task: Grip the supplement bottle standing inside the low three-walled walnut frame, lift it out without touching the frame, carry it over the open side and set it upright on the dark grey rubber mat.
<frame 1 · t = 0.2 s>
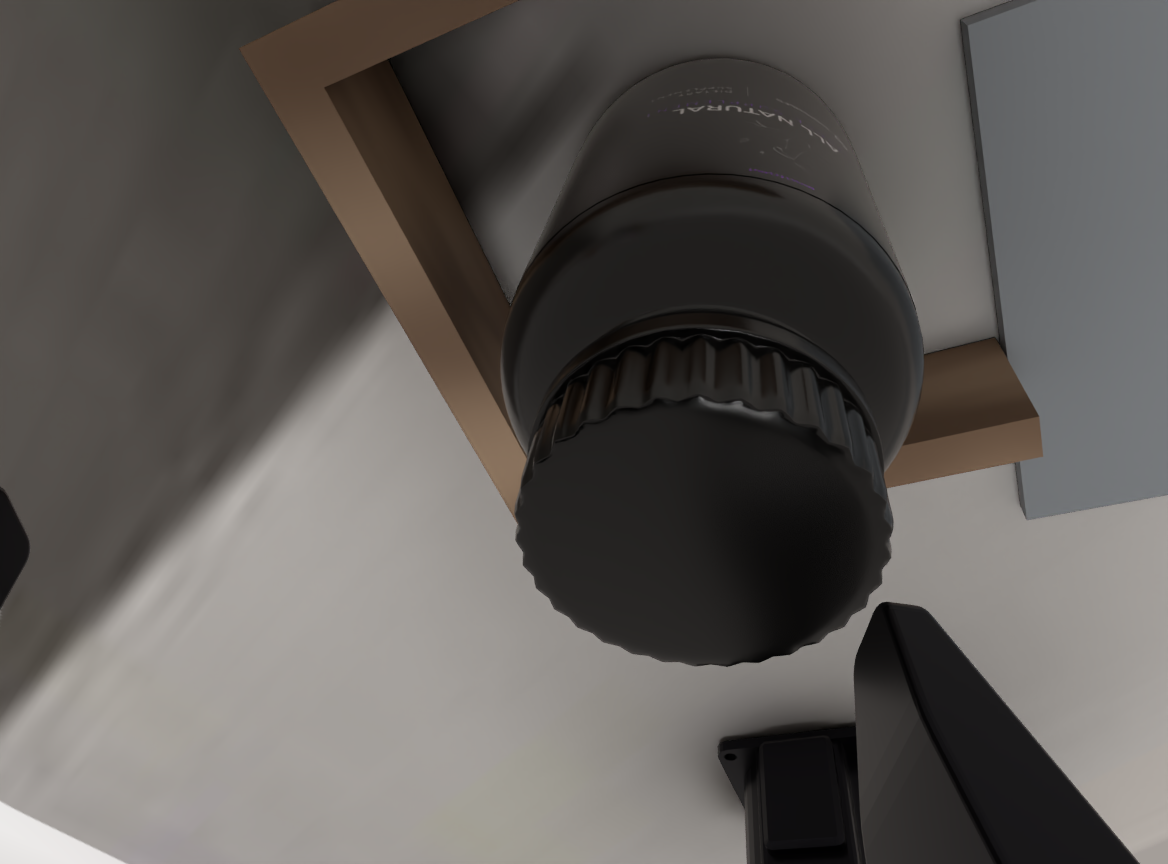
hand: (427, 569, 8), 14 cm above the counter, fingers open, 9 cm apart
walnut frame: (707, 201, 20), on the counter
supplement bottle: (707, 198, 20), on the counter
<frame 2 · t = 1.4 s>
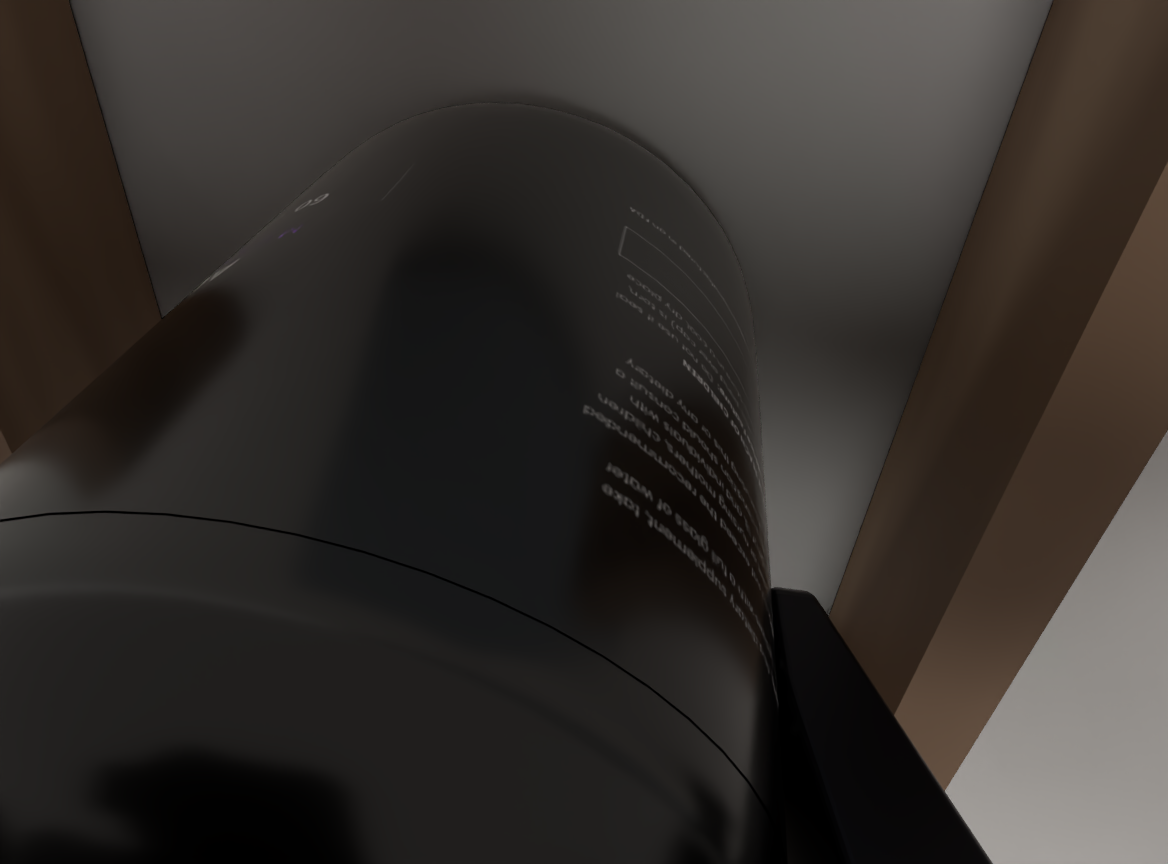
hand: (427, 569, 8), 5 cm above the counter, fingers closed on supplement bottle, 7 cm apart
walnut frame: (522, 327, 12), on the counter
supplement bottle: (524, 321, 12), on the counter, touching gripper
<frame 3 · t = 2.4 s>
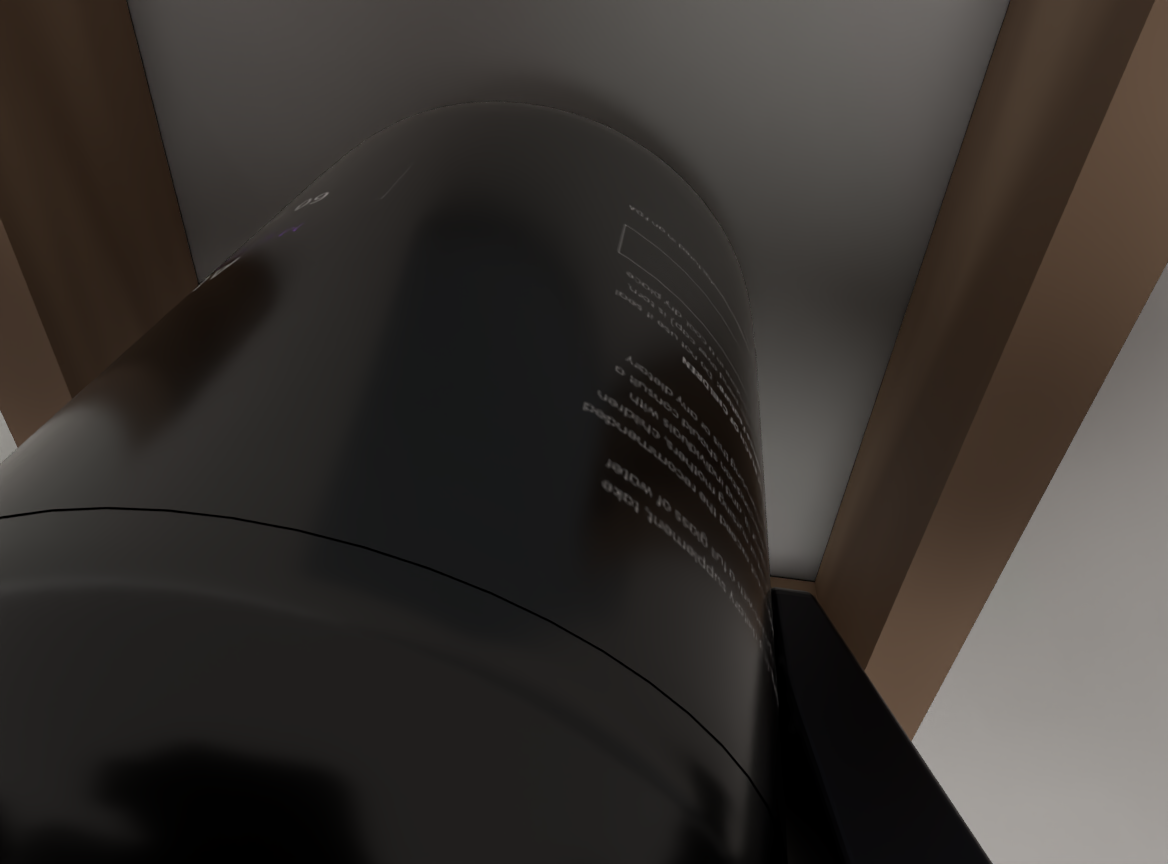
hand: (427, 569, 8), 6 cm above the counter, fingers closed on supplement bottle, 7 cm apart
walnut frame: (534, 289, 13), on the counter
supplement bottle: (524, 319, 12), point 1 cm above the counter, touching gripper
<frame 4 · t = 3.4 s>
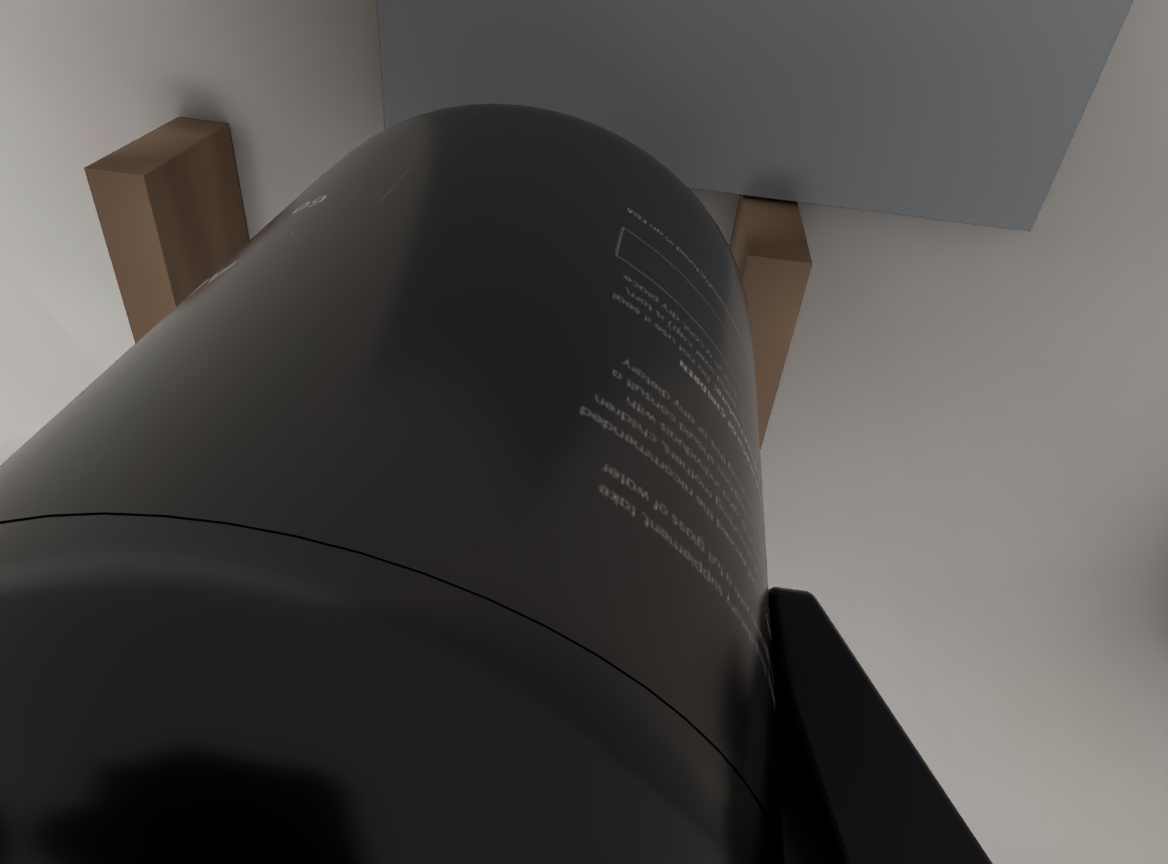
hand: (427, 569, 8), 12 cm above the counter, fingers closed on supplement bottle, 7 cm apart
walnut frame: (479, 374, 22), on the counter
supplement bottle: (523, 321, 12), point 7 cm above the counter, touching gripper
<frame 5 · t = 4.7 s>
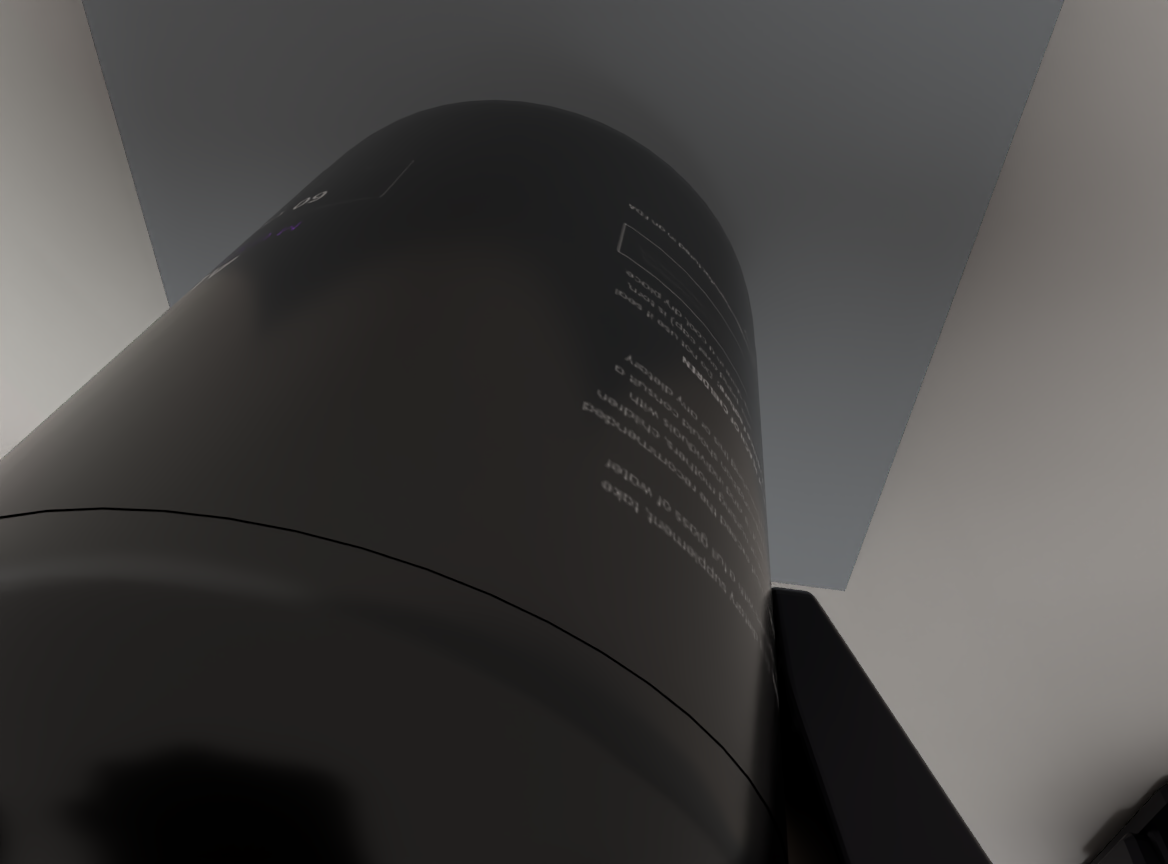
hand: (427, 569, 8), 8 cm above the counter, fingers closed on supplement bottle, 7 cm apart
grey mat: (540, 248, 14), on the counter
supplement bottle: (524, 319, 12), point 2 cm above the counter, touching gripper
when the fingers open (7 cm above the counter, at t = 5.4 s): supplement bottle stays where it is, resting on grey mat.
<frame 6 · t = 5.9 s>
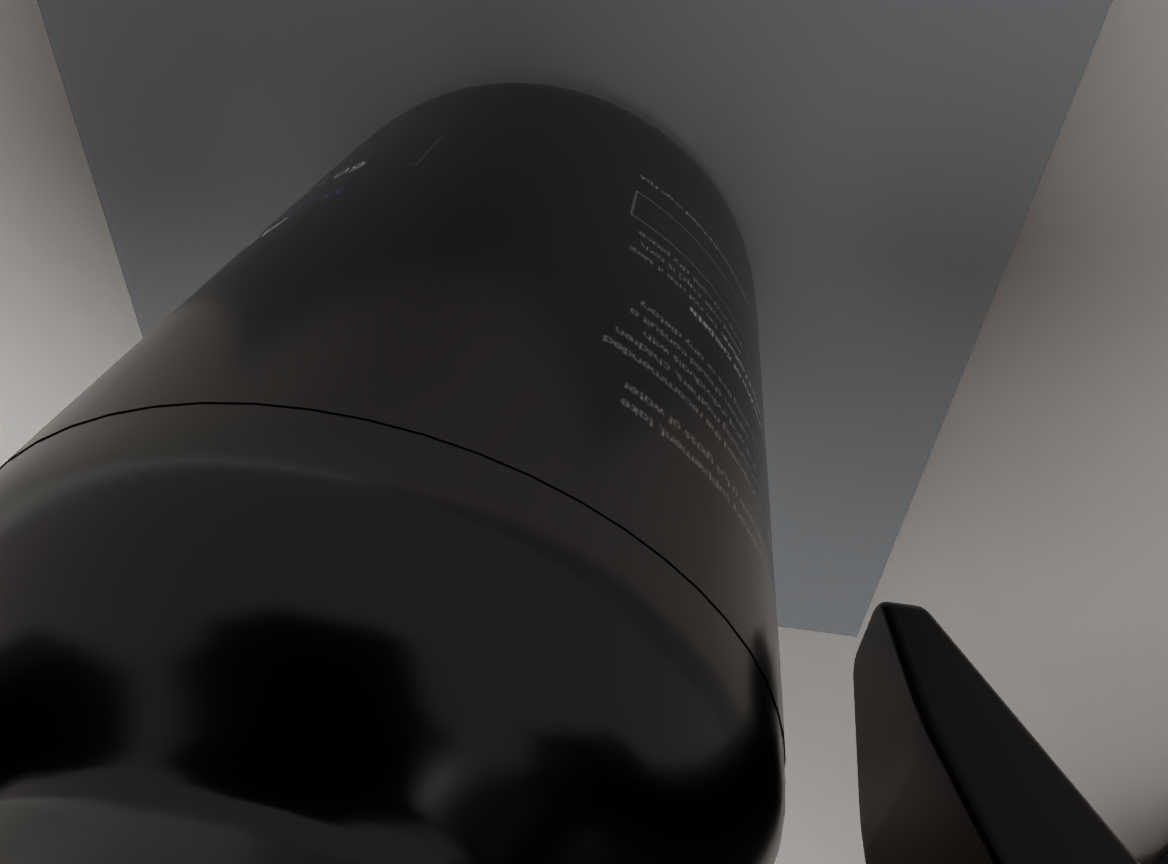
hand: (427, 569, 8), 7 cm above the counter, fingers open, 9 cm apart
grey mat: (535, 281, 13), on the counter
supplement bottle: (538, 293, 13), resting on grey mat
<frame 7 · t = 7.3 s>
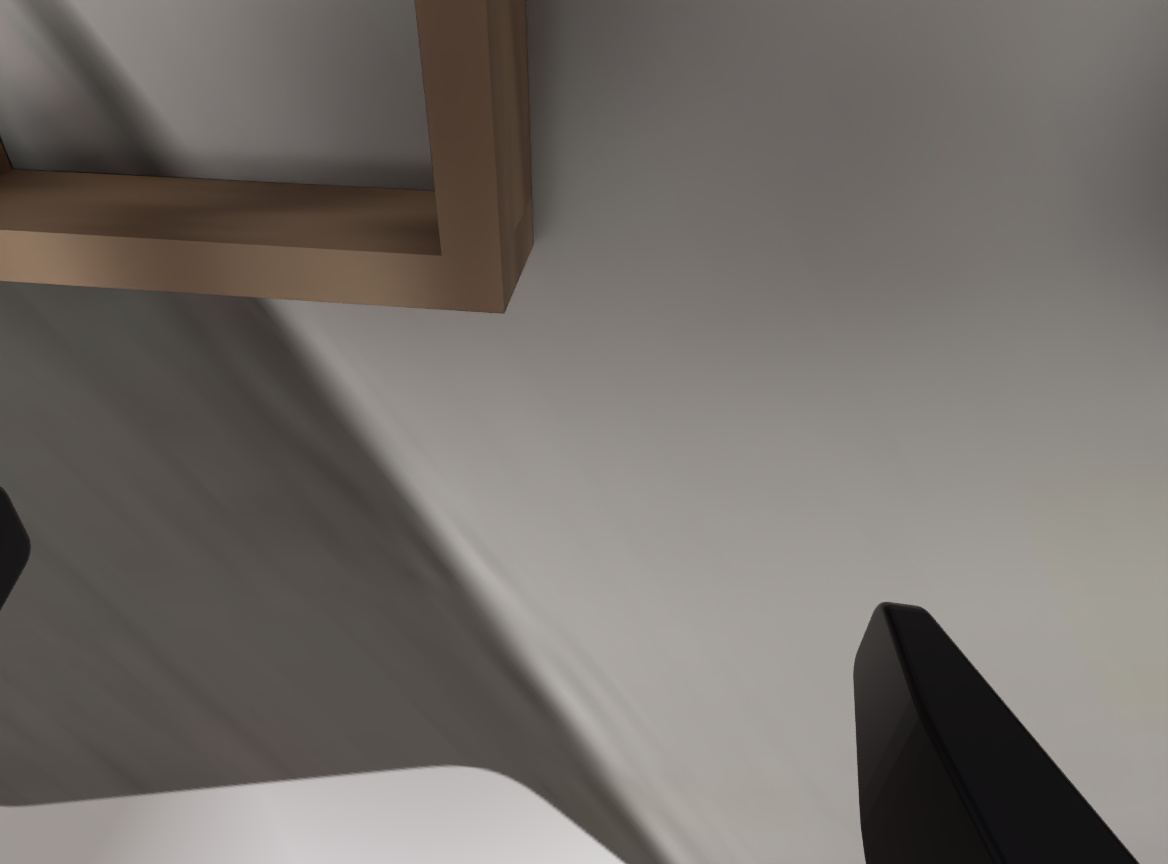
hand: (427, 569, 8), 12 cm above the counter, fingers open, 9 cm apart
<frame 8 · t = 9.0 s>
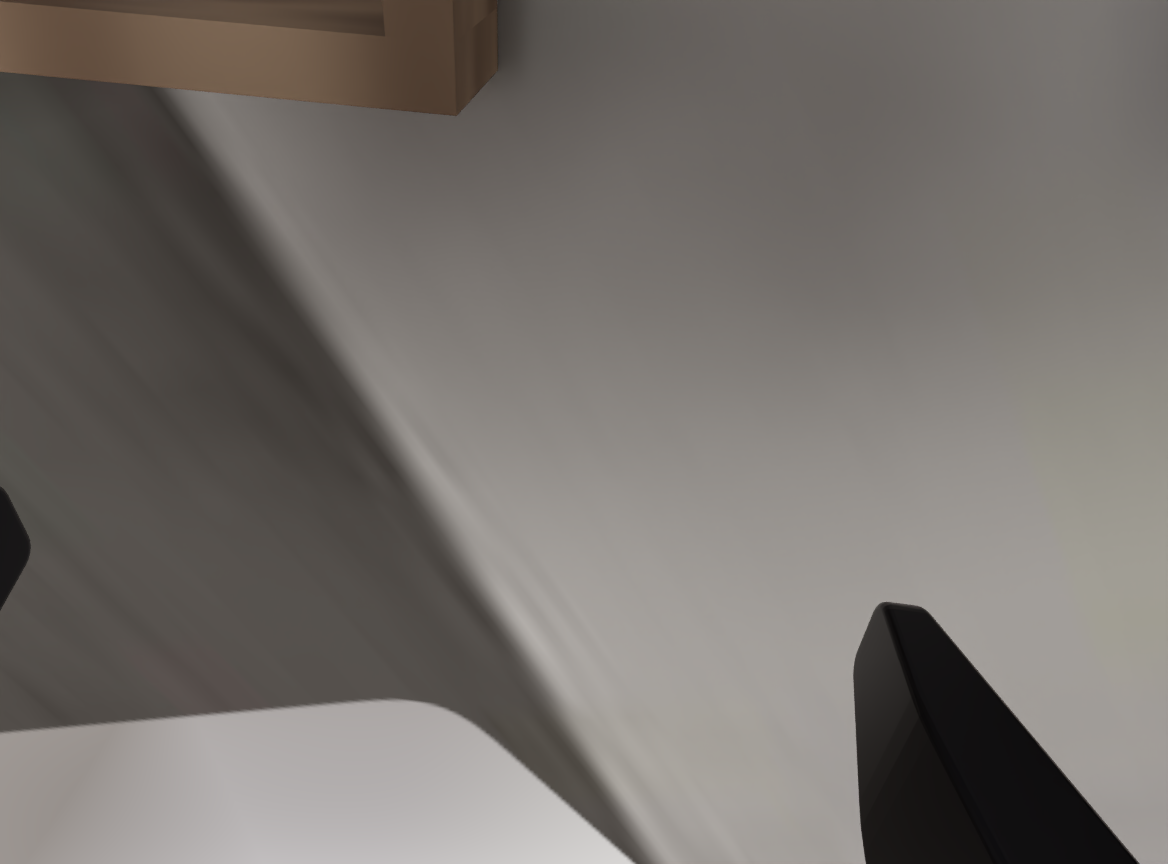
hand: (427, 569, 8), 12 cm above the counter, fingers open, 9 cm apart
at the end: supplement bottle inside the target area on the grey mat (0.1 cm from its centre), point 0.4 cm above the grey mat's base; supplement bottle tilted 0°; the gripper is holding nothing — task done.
